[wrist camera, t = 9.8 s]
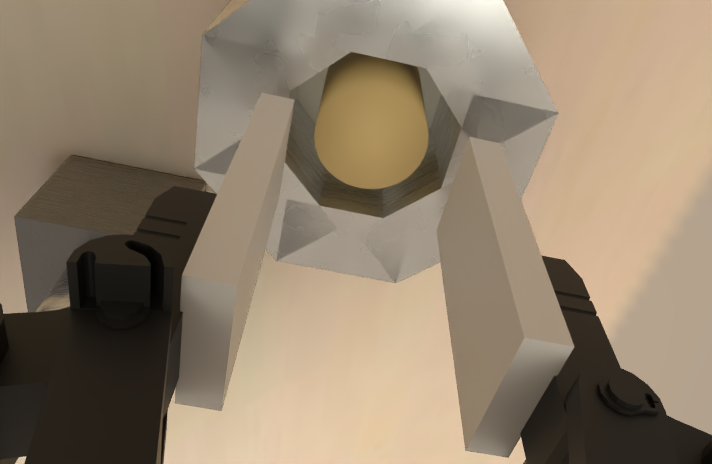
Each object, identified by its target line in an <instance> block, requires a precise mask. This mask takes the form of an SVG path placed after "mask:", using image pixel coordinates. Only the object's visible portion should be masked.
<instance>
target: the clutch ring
mask: <svg viewBox="0 0 712 464" xmlns="http://www.w3.org/2000/svg"><path fill="white" fill-rule="evenodd" d="M350 52H355V53H359V54H364V55H369V56H373V57H378V58H382V59H387V60H391V61H396V62H400V63H405V64H409V65H414V66H418V67H423V68H426V69H427V70H428V72H429V74H430V75H431V77H432V79H433V81H434V82H435V84H436V86H437V87H438V89H439V91H440V92H441V97H440V100H439V103H438V106H437V110H436V113H435V116H434V119H433V123H432V126H431V127H430V128H428V146H427V150H426V153H425V156H424V158H423V160H422V162H421V164H420V165H419V166H418V168H417V169H416V170H415V171H414V172H413V173H412V174H411V175H410V176H408V177H407V178H406V179H404V180H403V181H401V182H399V183H397V184H395V185H392V186H389V187H385V188H379V189H364V188H358V187H354V186H351V185H348V184H346V183H344V182H342V181H340V180H339V179H337V178H336V177H334V176H333V175H332V174H331V173H330V172H329V171H328V170H327V169H326V168H325V167H324V165H323V164H322V162H321V161H320V158H319V156H318V154H317V151H316V148H315V142H314V133H315V126H316V124H315V122H314V121H313V119H312V118H311V117H310V115H309V114H308V113H307V111H306V110H305V109H304V107H303V106H302V105H301V103H300V102H299V100H298V99H297V95H298V89H299V85H300V84H302V83H303V82H305V81H306V80H308V79H310V78H311V77H313V76H314V75H316V74H317V73H319V72H321V71H322V70H324V69H325V68H327V67H328V66H330V65H331V64H333V63H335V62H336V61H338V60H339V59H341V58H342V57H344V56H346V55H347V54H349V53H350ZM261 93H265V94H270V95H275V96H279V97H284V98H289V99H294V100H295V101H294V107H293V113H292V119H291V126H290V132H289V138H288V144H287V151H286V157H285V163H284V169H283V176H282V182H281V188H280V194H279V200H278V204H277V207H276V211H275V215H274V219H273V222H272V226H271V230H270V233H269V237H268V241H267V244H266V248H265V249H266V250H267V251H268V252H269V253H270V254H271V255H272V256H273V257H274V259H275V260H276V261H280V262H285V263H291V264H296V265H301V266H307V267H312V268H318V269H323V270H328V271H334V272H339V273H344V274H350V275H355V276H360V277H366V278H371V279H376V280H382V281H387V282H392V283H397V282H399V281H401V280H404V279H406V278H408V277H410V276H412V275H414V274H416V273H419V272H421V271H423V270H425V269H427V268H429V267H431V266H433V265H436V264H438V263H440V262H441V261H440V254H439V246H438V239H437V231H436V230H437V227H438V224H439V221H440V219H441V216H442V213H443V210H444V207H445V204H446V201H447V199H448V196H449V193H450V190H451V187H452V184H453V182H454V179H455V176H456V173H457V170H458V167H459V165H460V162H461V159H462V156H463V153H464V150H465V148H466V145H467V142H468V139H469V137H473V138H478V139H483V140H487V141H492V142H497V143H500V144H501V147H502V149H503V152H504V155H505V157H506V160H507V163H508V166H509V168H510V171H511V174H512V177H513V179H514V182H515V185H516V188H517V190H518V193H519V196H520V199H521V198H522V196H523V193H524V191H525V189H526V187H527V184H528V182H529V180H530V177H531V175H532V173H533V171H534V168H535V166H536V164H537V161H538V159H539V157H540V154H541V152H542V150H543V148H544V145H545V143H546V141H547V138H548V136H549V134H550V132H551V129H552V127H553V125H554V122H555V120H556V118H557V116H558V113H559V112H558V111H557V109H556V107H555V105H554V103H553V101H552V99H551V97H550V95H549V92H548V90H547V88H546V86H545V84H544V82H543V80H542V78H541V76H540V74H539V72H538V70H537V68H536V66H535V64H534V62H533V60H532V58H531V56H530V54H529V52H528V50H527V48H526V46H525V44H524V42H523V40H522V38H521V36H520V33H519V31H518V29H517V27H516V25H515V23H514V21H513V19H512V17H511V15H510V13H509V11H508V9H507V7H506V5H505V3H504V1H503V0H231V1H230V2H229V3H228V4H227V6H226V7H225V8H224V9H223V11H222V12H221V13H220V14H219V15H218V17H217V18H216V19H215V20H214V21H213V23H212V24H211V25H210V26H209V27H208V29H207V30H206V31H205V32H204V33H203V35H202V49H201V65H200V81H199V97H198V113H197V130H196V146H195V162H194V169H195V171H196V172H197V173H198V174H199V175H200V176H201V177H202V178H203V179H204V181H205V182H206V183H207V184H208V185H209V186H210V187H211V188H212V189H213V191H214V192H215V193H216V194H218V191H219V189H220V187H221V185H222V182H223V180H224V178H225V175H226V173H227V171H228V169H229V166H230V164H231V162H232V159H233V157H234V155H235V152H236V150H237V148H238V146H239V143H240V141H241V139H242V136H243V134H244V132H245V130H246V127H247V125H248V123H249V120H250V118H251V116H252V114H253V111H254V109H255V107H256V104H257V102H258V100H259V98H260V95H261Z"/></svg>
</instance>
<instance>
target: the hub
mask: <svg viewBox="0 0 712 464" xmlns="http://www.w3.org/2000/svg"><path fill="white" fill-rule="evenodd" d="M440 97H441V92H440V91H439V89H438V87H437V86H436V84H435V82H434V81H433V79H432V77H431V75H430V74H429V72H428V70H427V69H426V68H423V67H418V66H414V65H409V64H405V63H400V62H396V61H391V60H387V59H382V58H378V57H373V56H369V55H364V54H359V53H355V52H350V53H349V54H347V55H346V56H344V57H342V58H341V59H339V60H338V61H336V62H335V63H333V64H331V65H330V66H328V67H327V68H325V69H324V70H322V71H321V72H319V73H317V74H316V75H314V76H313V77H311V78H310V79H308V80H306V81H305V82H303V83H302V84H300V85H299V89H298V95H297V99H298V100H299V102H300V103H301V105H302V106H303V107H304V109H305V110H306V111H307V113H308V114H309V115H310V117H311V118H312V119H313V121H314V122H315V124H316V126H315V133H314V142H315V148H316V151H317V154H318V156H319V158H320V161H321V162H322V164H323V165H324V167H325V168H326V169H327V170H328V171H329V172H330V173H331V174H332V175H333V176H334V177H336V178H337V179H339V180H340V181H342V182H344V183H346V184H348V185H351V186H354V187H358V188H364V189H379V188H385V187H389V186H392V185H395V184H397V183H399V182H401V181H403V180H404V179H406V178H407V177H408V176H410V175H411V174H412V173H413V172H414V171H415V170H416V169H417V168H418V166H419V165H420V164H421V162H422V160H423V158H424V156H425V153H426V150H427V146H428V128H430V127H431V126H432V123H433V119H434V116H435V113H436V110H437V106H438V103H439V100H440Z"/></svg>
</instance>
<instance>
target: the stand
mask: <svg viewBox="0 0 712 464" xmlns="http://www.w3.org/2000/svg"><path fill="white" fill-rule="evenodd" d="M174 186H178V187H183V188H189V189H194V190H199V191H204V192H205V189H206V182H205V181H201V180H196V179H191V178H186V177H181V176H176V175H171V174H166V173H161V172H156V171H150V170H145V169H140V168H135V167H130V166H125V165H120V164H115V163H110V162H105V161H100V160H95V159H89V158H84V157H79V156H74V155H71V156H70V157H69V158H68V159H67V160H66V161H65V162H64V163H63V164H62V165H61V166H60V168H59V169H58V170H57V171H56V172H55V173H54V174H53V175H52V176H51V177H50V178H49V179H48V181H47V182H46V183H45V184H44V185H43V186H42V187H41V188H40V189H39V190H38V191H37V192H36V194H35V195H34V196H33V197H32V198H31V199H30V200H29V201H28V202H27V203H26V204H25V205H24V207H23V208H22V209H21V210H20V211H19V212H18V213H17V214H16V215H15V216H14V218H15V225H16V232H17V239H18V246H19V253H20V260H21V267H22V274H23V281H24V288H25V295H26V302H27V309H28V313H29V312H44V311H52V310H59V309H63V308H66V307H69V306H70V299H69V287H68V276H67V265H66V261H67V260H68V259H69V257H70V256H71V254H72V253H73V251H74V250H75V249H77V248H78V247H80V246H81V245H83V244H85V243H86V242H88V241H90V240H93V239H96V238H100V237H103V236H107V235H123V234H129V235H133V234H134V233H135V232H137V228H138V226H139V224H140V223H141V221H142V219H143V218H145V214H146V213H147V211H148V209H149V208H150V206H151V204H152V203H153V201H154V199H155V198H156V197H158V196H159V195H161V194H162V193H164V192H166V191H167V190H169V189H170V188H172V187H174Z"/></svg>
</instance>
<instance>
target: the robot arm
mask: <svg viewBox="0 0 712 464" xmlns="http://www.w3.org/2000/svg"><path fill="white" fill-rule="evenodd" d="M294 101H295V100H294V99H289V98H284V97H279V96H275V95H270V94H265V93H261V95H260V98H259V100H258V102H257V104H256V107H255V109H254V111H253V114H252V116H251V118H250V120H249V123H248V125H247V127H246V130H245V132H244V134H243V136H242V139H241V141H240V143H239V146H238V148H237V150H236V152H235V155H234V157H233V159H232V162H231V164H230V166H229V169H228V171H227V173H226V175H225V178H224V180H223V182H222V185H221V187H220V189H219V191H218V194H214V193H209V192H204V191H199V190H194V189H189V188H183V187H178V186H174V187H172V188H170V189H169V190H167V191H166V192H164V193H162V194H161V195H159V196H158V197H156V198H155V199H154V201H153V203H152V204H151V206H150V208H149V209H148V211H147V213H146V214H145V218H143V219H142V221H141V223H140V224H139V226H138V228H137V232H135V233H134V234H133V235H129V234H123V235H107V236H103V237H100V238H96V239H93V240H90V241H88V242H86V243H85V244H83V245H81V246H80V247H78V248H77V249H75V250H74V251H73V253H72V254H71V256H70V257H69V259H68V260H67V261H66V265H67V276H68V287H69V299H70V306H69V307H66V308H63V309H59V310H52V311H44V312H29V313H12V314H3V310H2V305H1V304H0V464H15V462H16V461H17V459H18V457H23V456H27V457H26V460H25V464H163V462H164V451H165V440H166V430H167V411H168V407H169V404H170V401H171V398H172V396H173V393H174V390H175V387H176V391H175V403H176V404H183V405H189V406H195V407H201V408H207V409H213V410H219V411H222V407H223V404H224V400H225V396H226V393H227V389H228V385H229V381H230V378H231V374H232V370H233V367H234V363H235V359H236V355H237V352H238V348H239V344H240V341H241V337H242V333H243V330H244V326H245V322H246V318H247V315H248V311H249V307H250V304H251V300H252V296H253V293H254V289H255V285H256V281H257V278H258V274H259V270H260V267H261V263H262V259H263V256H264V252H265V248H266V244H267V241H268V237H269V233H270V230H271V226H272V222H273V219H274V215H275V211H276V207H277V204H278V200H279V194H280V188H281V182H282V176H283V169H284V163H285V157H286V151H287V144H288V138H289V132H290V126H291V119H292V113H293V107H294ZM436 231H437V239H438V246H439V254H440V261H441V269H442V276H443V284H444V292H445V299H446V307H447V314H448V322H449V329H450V337H451V344H452V352H453V359H454V367H455V375H456V382H457V390H458V397H459V405H460V412H461V420H462V427H463V435H464V442H465V450H466V451H471V452H477V453H484V454H490V455H496V456H502V457H509V456H510V454H511V452H512V451H513V449H514V447H515V446H516V444H517V442H518V441H519V439H520V437H521V438H522V443H523V447H524V452H525V456H526V460H525V462H524V463H523V464H712V435H710V434H708V433H706V432H703V431H701V430H698V429H696V428H694V427H692V426H689V425H687V424H684V423H682V422H680V421H677V420H675V419H673V418H671V417H669V416H667V415H666V411H665V409H664V407H663V405H662V403H661V401H660V398H659V397H658V396H657V395H656V394H655V393H654V391H653V390H652V389H651V388H650V387H649V386H648V385H647V384H646V383H645V382H643V381H642V380H641V379H639V378H638V377H636V376H635V375H634V374H632V373H630V372H628V371H626V370H624V369H621V368H620V365H619V363H618V361H617V358H616V356H615V354H614V351H613V349H612V347H611V344H610V342H609V340H608V338H607V335H606V333H605V331H604V328H603V326H602V324H601V321H600V319H599V317H598V316H596V313H597V312H596V310H595V308H594V305H593V303H592V301H589V299H590V296H589V294H588V292H587V289H586V287H585V285H584V282H583V280H582V278H581V277H580V276H579V275H578V274H577V273H576V272H575V271H574V269H573V268H572V267H571V266H570V265H569V264H568V263H567V262H566V261H565V260H561V259H556V258H551V257H546V256H541V254H540V251H539V248H538V245H537V243H536V240H535V237H534V234H533V232H532V229H531V226H530V223H529V221H528V218H527V215H526V212H525V210H524V207H523V204H522V201H521V199H520V196H519V193H518V190H517V188H516V185H515V182H514V179H513V177H512V174H511V171H510V168H509V166H508V163H507V160H506V157H505V155H504V152H503V149H502V147H501V144H500V143H497V142H492V141H487V140H483V139H478V138H473V137H469V139H468V142H467V145H466V148H465V150H464V153H463V156H462V159H461V162H460V165H459V167H458V170H457V173H456V176H455V179H454V182H453V184H452V187H451V190H450V193H449V196H448V199H447V201H446V204H445V207H444V210H443V213H442V216H441V219H440V221H439V224H438V227H437V230H436Z"/></svg>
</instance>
